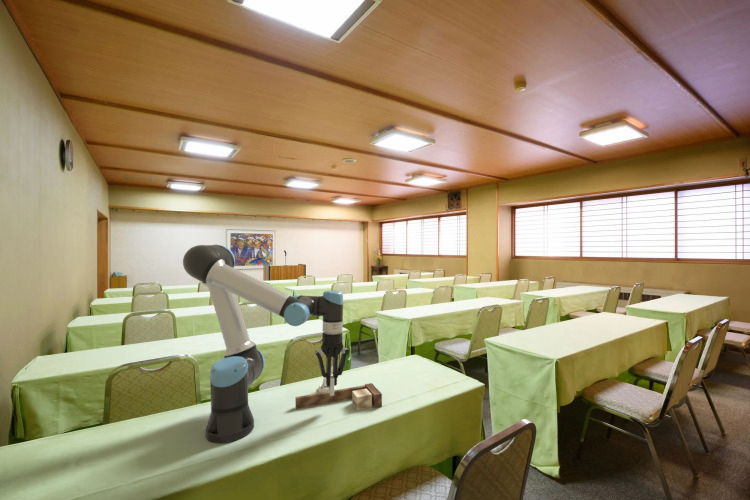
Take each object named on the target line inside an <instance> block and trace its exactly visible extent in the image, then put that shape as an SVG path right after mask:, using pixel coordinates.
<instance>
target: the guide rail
mask: <svg viewBox="0 0 750 500" xmlns="http://www.w3.org/2000/svg"><path fill="white" fill-rule="evenodd" d="M361 389H367V390H368V391H369V392H370V393H371V394H372V407H373V408H374V409H377V408H382V407H383V397H382V396H383V393H382V392H381V391H380V390H379V389H378V388H377V387H376V386H375V385H374V383H371V382H369V383H364V384H363V385H357V386H352V387H347V388H340V389H335V390H334V395H333V396H330V395H329V391H328V392H322V393H321V392H317V393H311V394H306V395H300V396H295V409H296V410H298V409H299V410H300V409H303V408H304V409H305V408H311V407H315V406H320V405H325V404H331V403H336V402H343V401H347V400H348V401H349V400H352V391H355V390H361Z"/></svg>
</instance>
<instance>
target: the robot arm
mask: <svg viewBox="0 0 750 500" xmlns="http://www.w3.org/2000/svg"><path fill="white" fill-rule="evenodd" d="M235 265H236V258H235V254H234V253H233V252H232V250H231V249H230V248H228V247H226V246H224V245H220V244H209V245H207V244H200V245H199V244H198V245H195V246H193V247H190V248H189V249H188V250H187V251H186V252H185V254H184V255H183V257H182V266H183V269H184V270H185V272H186V274H188V275H189V276H190V277H192V278H193V279H195V280H198V281H199V282H201V283H202V285H203V286H205V287H207V288H208V290H209V291H208V292H209V295H210V298H211V302H212V304H213V307H214V311H215V315H216V317H217V321H218V324H219V327H220V331H221V335H222V338H223V341H224V345H225V352H224V353H223V359H219V360H217V361H216V362H215V363H214V364H213V365H212V366H211V368H210V375H209V383H210V385H209V386H210V414H209V417H208V420H207V424H206V426H205V438H206V440H207V441H209V442H211V443H216V444H224V443H230V442H235V441H237V440H241V439H242V438H244V437H246V436H247V435H249V434H250V433H252V431H253V430H254V427H255V419H254V415H253V413H252V410H251V407H250V406H249V387H250V386H252V384H254V381H256V380H257V379H258V378H259V377H260V376H261V375H262V373H263V370H264V368H265V362H266V359H265V356H264V353H263V352H262V351H261V350H259V349H258V348H257V345H256V343H255V342H254V341H252V340H250V337H249V333H248V330H247V325H246V323H245V319H244V315H243V312H242V309H241V305H240V301H239V298H238V297H240V298H242V299H244V300H246V301H248V302H250V303H252V304H255V305H257V306H258V307H260V308H263V309H264V310H266V311H269V312H271V313H272V314H275V315H277V316H280V317H282V318H283V319H284V320H285V322H286V323H287V324H288V325H290V326H291V327H292V326H293V327H298V326H301V325H303V324H305V323H306V322H307V321H308V320H309V318H310V317H322V335H321V336H322V337H321V338H322V339H321V340H322V343H321V346H320V349H318V350H315V352H314V354H315V355H316V357H317V362H318V365H319V369H320V373H321V376H322V377H323V378H324V377H326V385H327V386H326V388H327V387H328V388H329V395H330V396H333V395H334V386H335V387H336V386H337V385H338V378H339V376H342V375H343V372H344V366H345V364H346V359H347V356H348V354H349V352H350V350H349V348H347V347H344V344H343V330H344V329H343V326H344V325H343V324H344V323H343V320H344V319H343V318H344V317H343V315H344V295H343V292H342V291H341V290H324V291H323V293H322V295H321V296H320V295H319V296H318V295H302V294H300V295H293V296H291V295H290V294H288V293H285V292H284V291H281V290H280V289H277V288H276V287H273V286H271V285H269V284H268V283H265V282H263V281H261V280H260V279H257V278H255V277H252V276H251V275H248V274H246V273H244V272H243V271H240V270H238V269H236V268H234V267H235ZM323 354H324V355H325V358H326V359H325V361H326V362H325V365H324V361H323V357H322V356H323ZM340 354H341V355H340ZM339 355H340V359H339ZM338 362H339V363H338ZM332 366H333V373H332V375H331V368H332Z"/></svg>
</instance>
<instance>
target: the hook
mask: <svg viewBox="0 0 750 500" xmlns="http://www.w3.org/2000/svg"><path fill="white" fill-rule="evenodd" d="M331 376H333V365H331ZM324 387H326V388H324ZM334 390H336V386H334ZM328 391H329V387H328V388H327V385H326V377H323V379H322V383H321V384H319V386H318V388H317V392H318V393H322V392H328Z"/></svg>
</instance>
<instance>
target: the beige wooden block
mask: <svg viewBox="0 0 750 500" xmlns="http://www.w3.org/2000/svg"><path fill="white" fill-rule="evenodd" d="M351 401H352V405H353V407H354V408H355V409H356V410H357V411H359V410H363V409H365V410H366V409H370V408H372V407H373V405H372V394H371V393H370V392H369V391H368V390H367V389H361V390H355V391H352V399H351Z"/></svg>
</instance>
